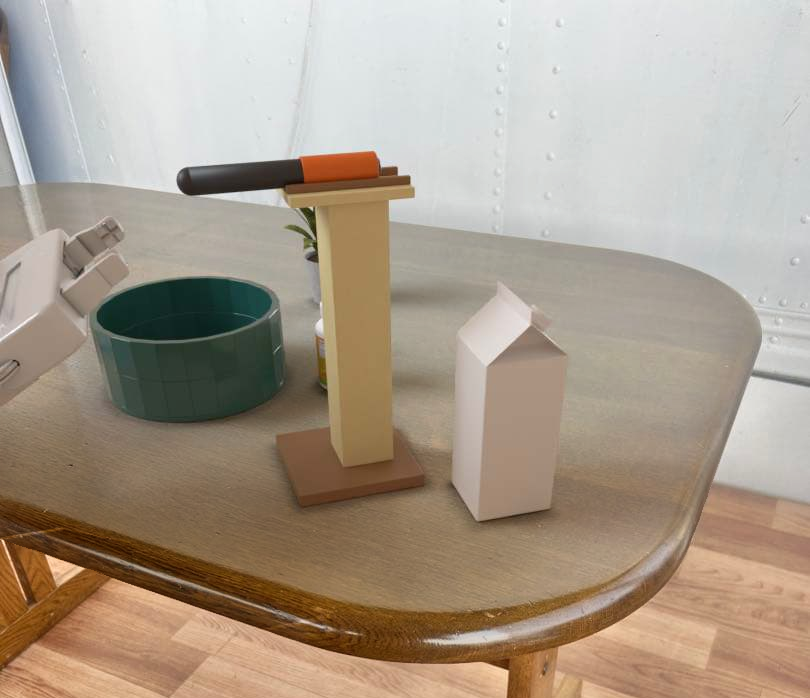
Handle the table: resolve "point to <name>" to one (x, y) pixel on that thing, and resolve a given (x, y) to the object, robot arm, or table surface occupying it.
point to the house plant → (312, 256)
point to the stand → (352, 346)
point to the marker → (277, 173)
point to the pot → (190, 347)
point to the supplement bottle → (321, 351)
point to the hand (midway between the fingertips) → (121, 241)
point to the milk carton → (506, 409)
